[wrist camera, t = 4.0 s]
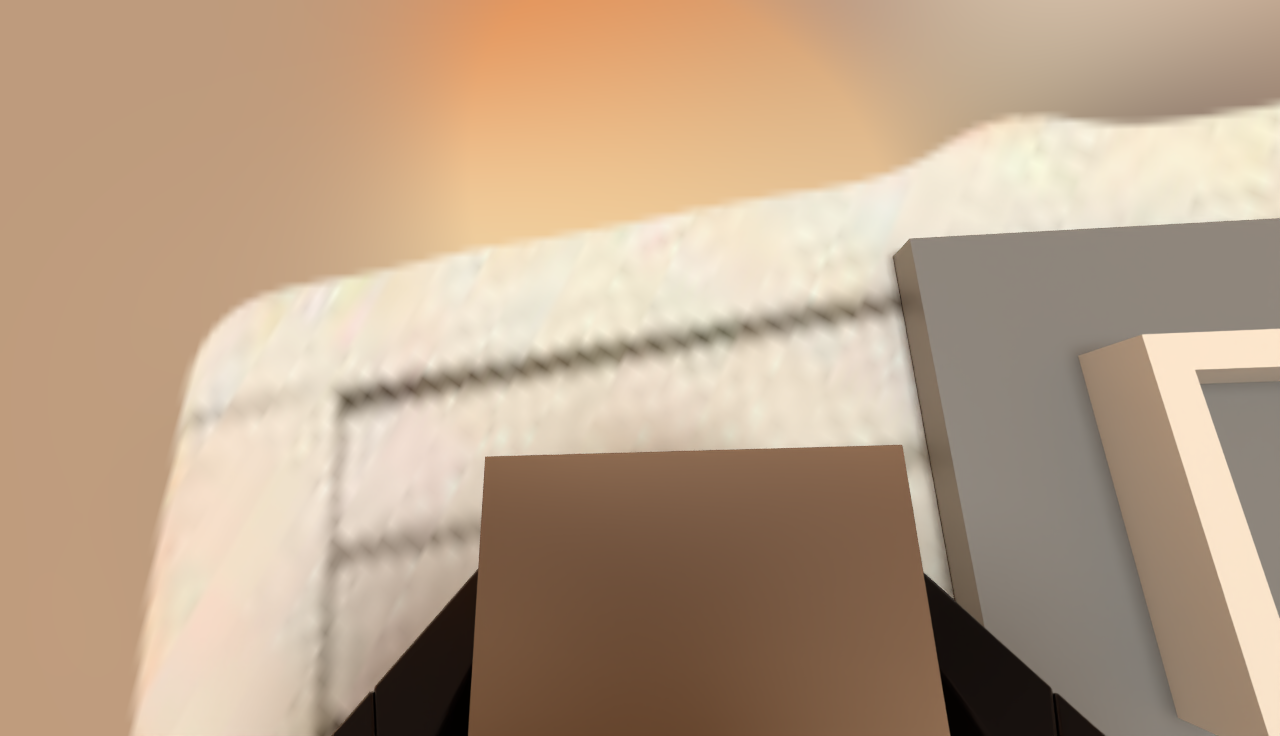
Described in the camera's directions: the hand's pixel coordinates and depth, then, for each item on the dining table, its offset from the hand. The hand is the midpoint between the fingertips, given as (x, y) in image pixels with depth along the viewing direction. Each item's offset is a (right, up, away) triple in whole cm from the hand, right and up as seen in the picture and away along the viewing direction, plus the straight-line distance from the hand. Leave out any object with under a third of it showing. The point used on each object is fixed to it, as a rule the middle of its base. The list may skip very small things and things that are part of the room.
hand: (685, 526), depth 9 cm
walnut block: (0, -3, +6) cm, 7 cm away
